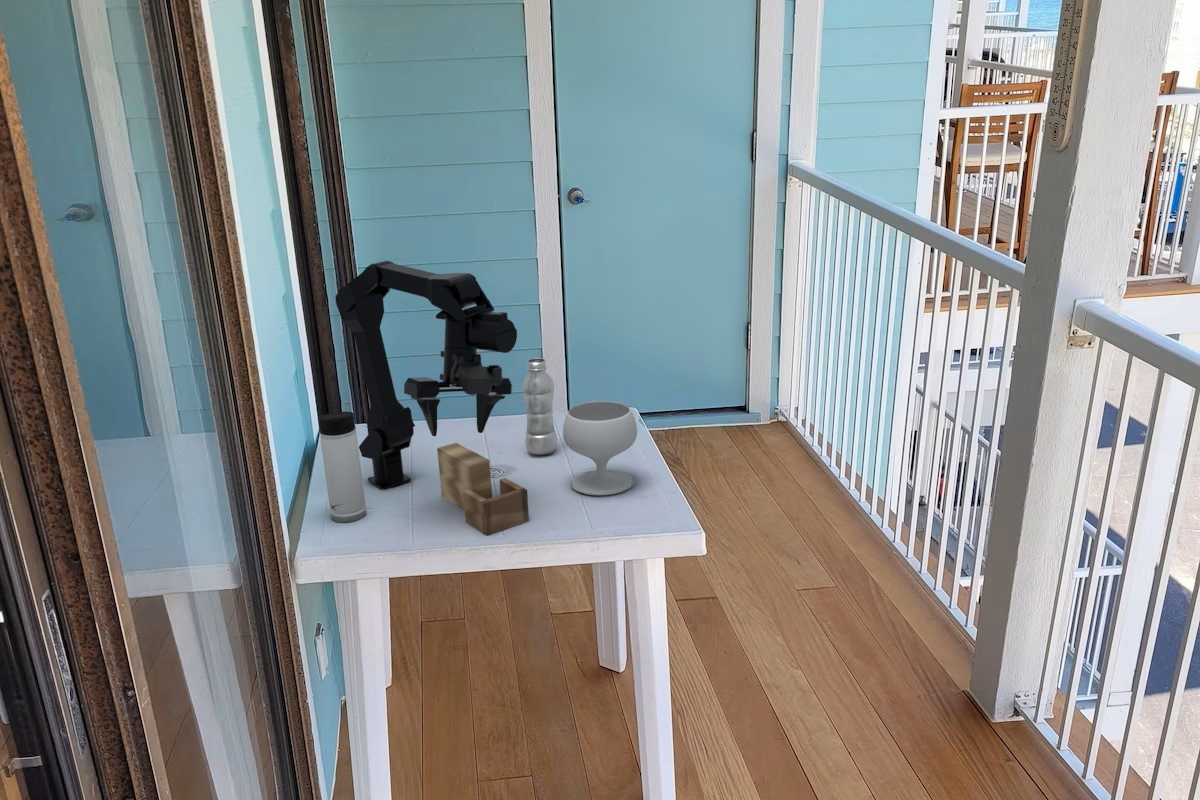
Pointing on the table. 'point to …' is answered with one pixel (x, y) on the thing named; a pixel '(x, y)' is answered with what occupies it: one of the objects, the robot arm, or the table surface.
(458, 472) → the tan wooden block
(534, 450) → the plastic bottle
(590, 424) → the chalice
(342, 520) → the travel mug
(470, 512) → the end cap
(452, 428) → the table surface
